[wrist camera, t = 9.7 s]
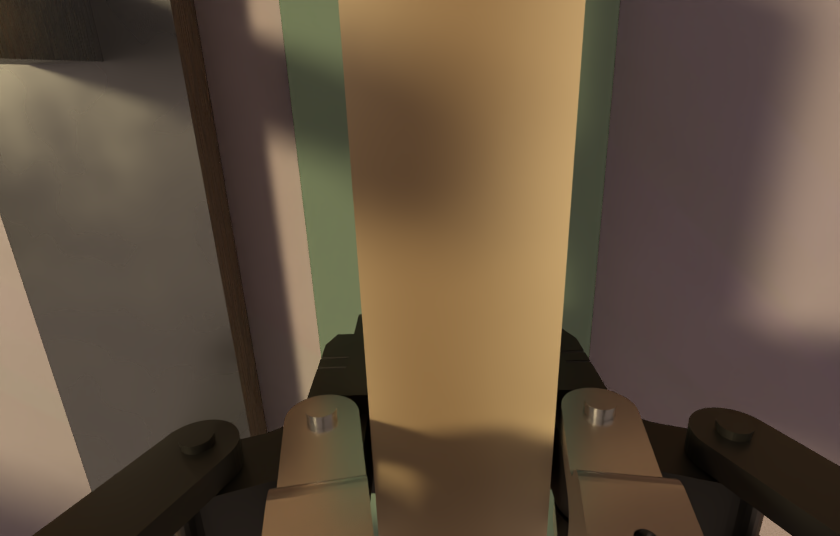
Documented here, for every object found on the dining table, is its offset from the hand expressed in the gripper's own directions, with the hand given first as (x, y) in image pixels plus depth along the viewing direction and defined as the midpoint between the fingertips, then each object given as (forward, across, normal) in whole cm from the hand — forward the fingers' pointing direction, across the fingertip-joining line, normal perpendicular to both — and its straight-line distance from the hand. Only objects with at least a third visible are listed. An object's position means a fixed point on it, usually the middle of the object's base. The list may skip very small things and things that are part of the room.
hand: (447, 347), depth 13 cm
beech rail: (-1, 0, 0) cm, 1 cm away
